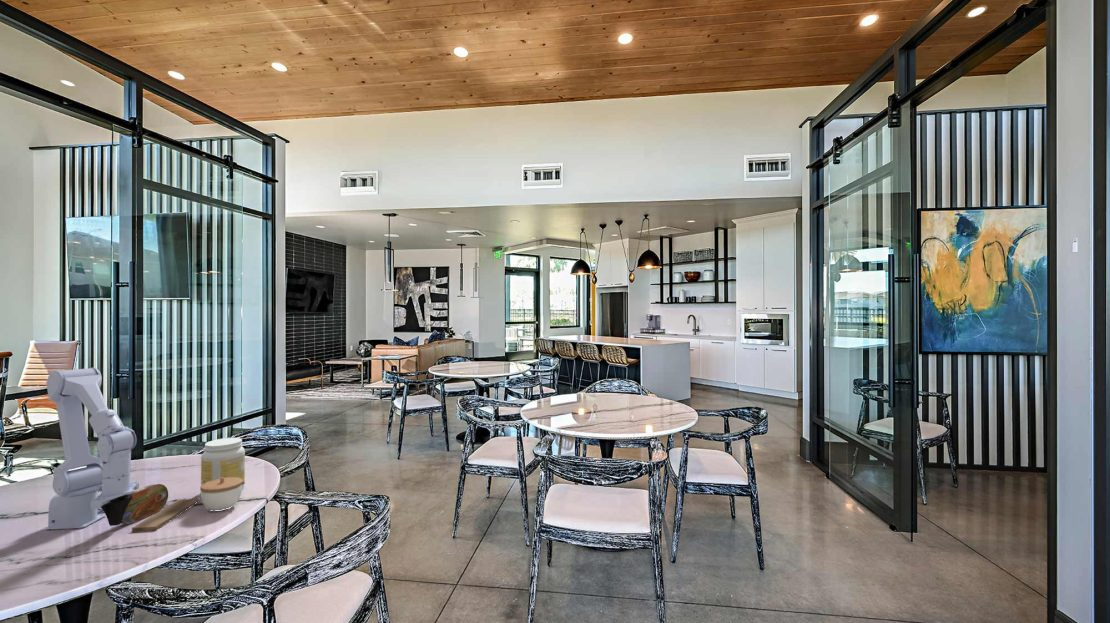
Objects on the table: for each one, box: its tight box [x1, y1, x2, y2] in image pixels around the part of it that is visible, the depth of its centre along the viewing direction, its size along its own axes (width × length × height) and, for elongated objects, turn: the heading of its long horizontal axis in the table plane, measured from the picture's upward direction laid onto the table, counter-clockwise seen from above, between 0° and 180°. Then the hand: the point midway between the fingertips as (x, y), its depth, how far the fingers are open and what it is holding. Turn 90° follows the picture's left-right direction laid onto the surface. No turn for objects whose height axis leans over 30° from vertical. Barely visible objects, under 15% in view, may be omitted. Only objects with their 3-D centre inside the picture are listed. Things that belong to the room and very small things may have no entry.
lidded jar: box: [200, 477, 243, 511], centre depth 145 cm, size 11×11×9 cm
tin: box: [120, 483, 169, 525], centre depth 138 cm, size 15×3×8 cm, turn 175°
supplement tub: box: [200, 437, 246, 489], centre depth 159 cm, size 12×12×17 cm
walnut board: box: [131, 498, 200, 533], centre depth 139 cm, size 6×20×1 cm, turn 9°
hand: (115, 524), depth 129 cm, fingers closed
